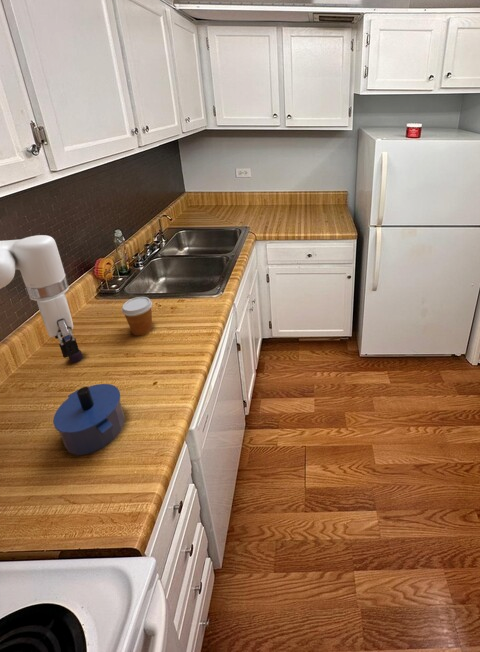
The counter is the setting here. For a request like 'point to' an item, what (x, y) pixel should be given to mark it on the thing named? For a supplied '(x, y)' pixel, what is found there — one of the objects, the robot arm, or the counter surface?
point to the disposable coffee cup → (138, 315)
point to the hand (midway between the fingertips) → (67, 344)
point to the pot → (95, 434)
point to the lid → (86, 408)
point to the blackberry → (76, 357)
